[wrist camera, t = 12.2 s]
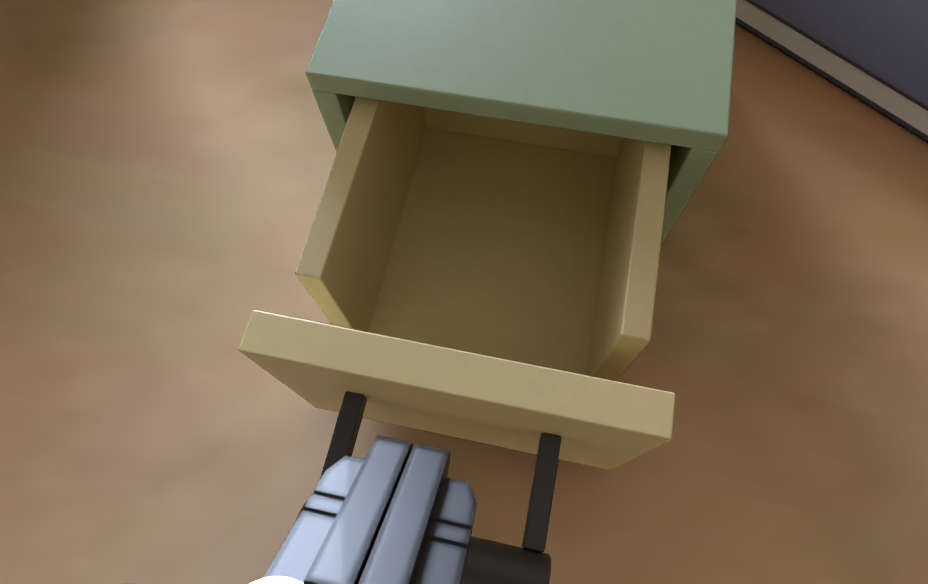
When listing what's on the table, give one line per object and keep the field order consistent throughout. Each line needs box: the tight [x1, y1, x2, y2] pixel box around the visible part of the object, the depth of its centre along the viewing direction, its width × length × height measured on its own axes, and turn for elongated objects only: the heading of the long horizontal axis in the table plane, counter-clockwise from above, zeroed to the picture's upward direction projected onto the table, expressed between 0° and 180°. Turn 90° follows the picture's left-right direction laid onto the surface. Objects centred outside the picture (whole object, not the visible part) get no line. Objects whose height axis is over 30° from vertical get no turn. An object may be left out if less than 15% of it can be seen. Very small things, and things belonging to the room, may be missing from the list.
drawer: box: [239, 97, 675, 584], centre depth 20 cm, size 18×11×8 cm, turn 168°
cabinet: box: [306, 0, 737, 245], centre depth 25 cm, size 15×13×10 cm
